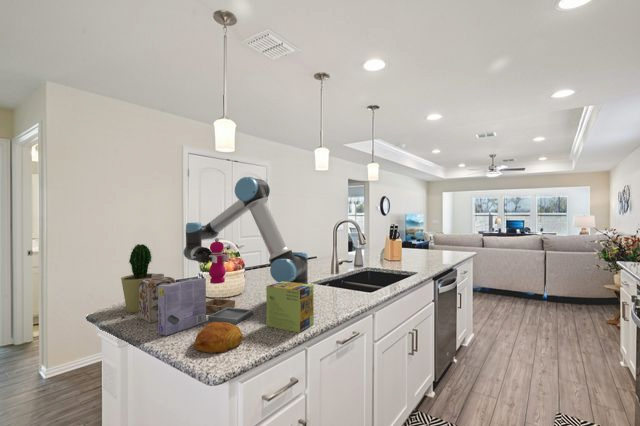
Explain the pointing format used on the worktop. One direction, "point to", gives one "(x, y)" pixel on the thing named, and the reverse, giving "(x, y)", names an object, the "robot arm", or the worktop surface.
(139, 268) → the potted cactus
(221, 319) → the tray
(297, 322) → the protein box
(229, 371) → the worktop surface
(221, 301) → the tray
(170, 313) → the cake pan box
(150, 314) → the decorative jar
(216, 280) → the pepper mill
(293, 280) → the robot arm
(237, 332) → the bread pastry
